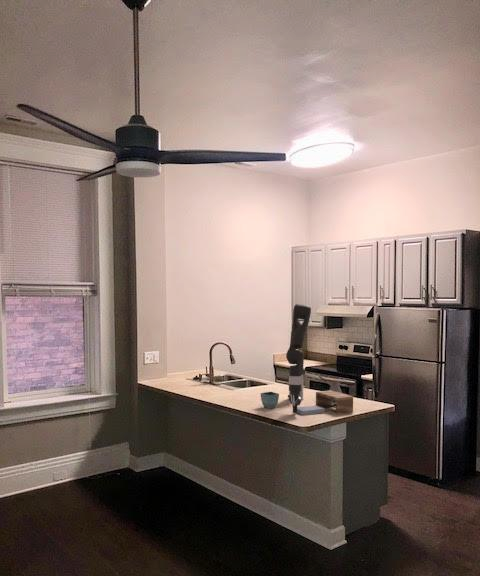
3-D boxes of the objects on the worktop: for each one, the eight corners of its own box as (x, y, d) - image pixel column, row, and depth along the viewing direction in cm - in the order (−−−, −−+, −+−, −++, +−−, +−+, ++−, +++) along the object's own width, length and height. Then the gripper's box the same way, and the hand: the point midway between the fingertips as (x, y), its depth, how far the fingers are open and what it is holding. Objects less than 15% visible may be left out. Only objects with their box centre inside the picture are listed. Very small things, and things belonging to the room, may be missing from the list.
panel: (293, 412, 307) (293, 407, 307) (315, 410, 313) (315, 405, 313) (302, 416, 298) (302, 410, 298) (324, 413, 304) (324, 408, 304)
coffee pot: (347, 401, 339) (347, 379, 339) (335, 403, 332) (335, 380, 332) (323, 396, 356) (324, 375, 356) (312, 398, 349) (312, 376, 349)
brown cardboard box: (315, 406, 321) (315, 391, 321) (330, 404, 327) (330, 390, 327) (337, 413, 302) (337, 397, 302) (353, 411, 307) (353, 396, 308)
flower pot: (268, 409, 312) (268, 395, 312) (259, 407, 319) (260, 393, 319) (279, 407, 317) (279, 393, 317) (270, 405, 324) (270, 391, 324)
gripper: (283, 381, 305) (283, 410, 305) (295, 385, 294) (295, 415, 293) (294, 381, 309) (294, 409, 308) (306, 384, 297) (306, 413, 297)
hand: (294, 412), depth 301 cm, fingers closed
